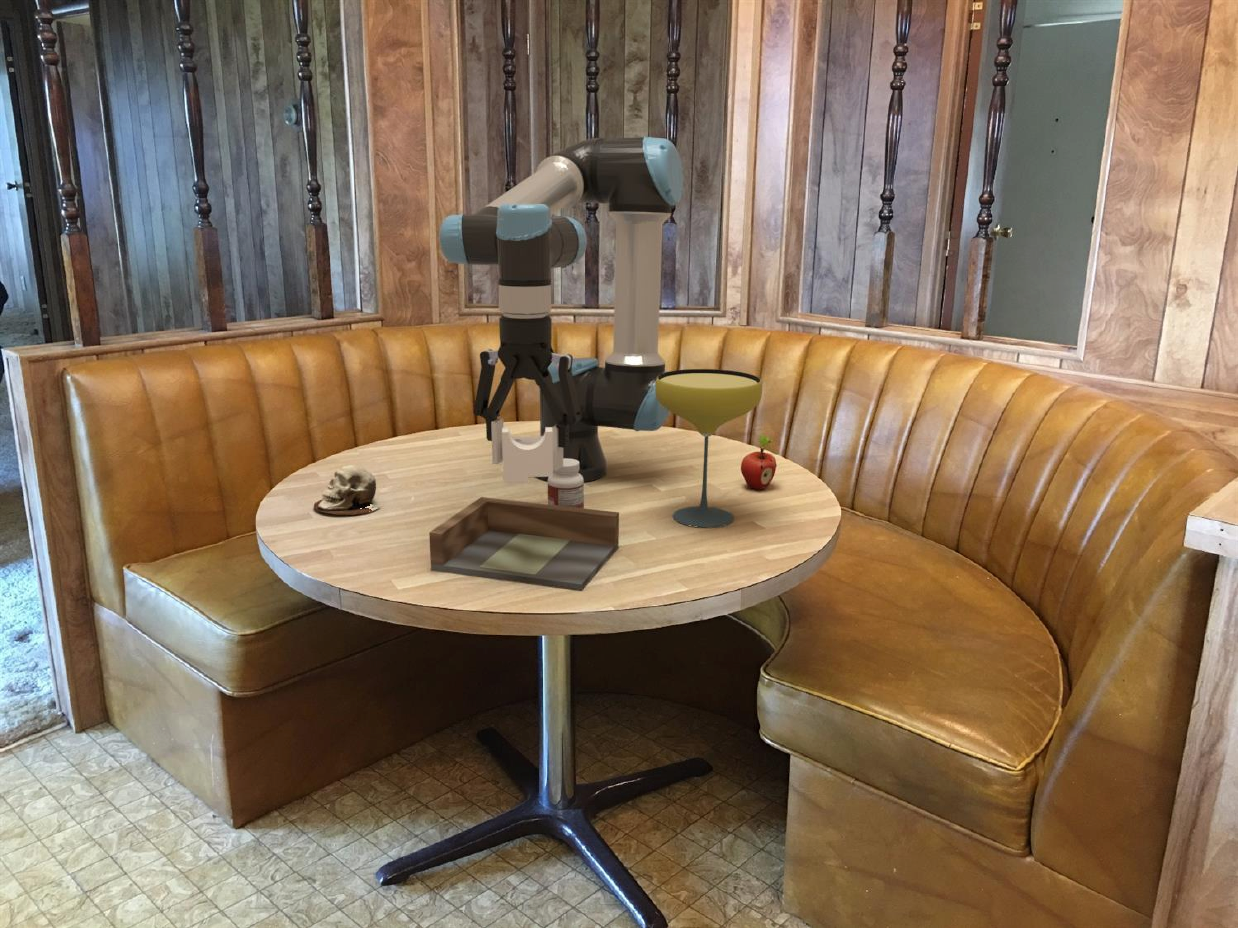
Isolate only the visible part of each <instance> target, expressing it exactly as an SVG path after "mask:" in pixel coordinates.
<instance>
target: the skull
mask: <svg viewBox="0 0 1238 928" xmlns="http://www.w3.org/2000/svg"><path fill="white" fill-rule="evenodd" d="M333 474H334V477H332V478H331V480H330V481H329V483H328V485H327V488H326V489H325V490H324V491H323V492H322V499H319V500H317V501H316V502H315V503H314V504H313V508H314V509H315V510H316V511H319V512H320V513H325V514H331V515H340V516H342V515H343V516H346V517H348V516H349V515H350V516H357V515H362V514H370V512H371V513H373V512H372V510H371V509H369V508H365V507H367V506H370V504H373V503H372V501H373V500H374V498H375V495H376V491H377V481H376V478H375V476H374V475H373V474H372V473H371V472H370V471H368V470H367V469H365V468H363V467H361V466H359V465H356V464H346V465H344V466H341V467H340V468H338V469H337V470H336V471H334V473H333ZM360 508H362V509H360ZM369 511H370V512H369Z"/></svg>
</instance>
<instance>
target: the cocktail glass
mask: <svg viewBox="0 0 1238 928" xmlns="http://www.w3.org/2000/svg"><path fill="white" fill-rule="evenodd" d="M655 394H656V397H657V400H658V401H659V403H660V404H661V405H662V406H664V407H665V408H666V409H667V410H669V411H670V412H669V413H672V414H674V415H676V416H678V417H680V418H681V419H684V420H685V421H687V422H689V423H690V424H692V425H693V426H694V427H695V429H696V430H697V431H698V433H699V434H700V435H701V436H702V437H704V443H703V444H704V448H703V452H704V453H703V469H702V471H703V473H702V490H701V497H700V503H699V505H698V506H697V505H695V506H687V507H683V508H679V509H677V510H675V511H674V512H673V513H672V518H673V520H674V521H675V520H677V521H678V522H677V521H676V522H677V523H679V522H680V523H679V524H681V523H682V524H681V525H683V524H684V526H687V525H691V526H697V527H696V528H698V527H716V528H721V527H720V526H722V527H725V526H724V525H726V526H728V525H730V524H731V522H732V521H734V520H735V516H734V514H733V513H731V512H730V511H728V510H726V509H723V508H719V507H714V506H709V505H708V497H707V496H708V492H707V490H708V489H707V488H708V487H707V486H708V484H707V483H708V457H709V456H708V453H709V437H712V436H713V435H714V434H715V433H716V431H717V430H718V429H719V428H720V427H721V426H722V425H725V424H726V423H728V422H730V421H732V420H735V419H737V418H740V417H742V416H744V415H746V414H748V413H750V412H751V411H752V410H754V409H755V408H756V407H757V406H758V405H759V404H760V403H761V399H762V396H763V382H762V380H761V378H760V377H758V376H757V375H753V374H751V373H747V372H743V371H736V370H727V369H713V368H691V369H689V368H688V369H677V370H670V371H668V372H665V373H662V374H660V375H658V377H657V379H656V384H655ZM732 523H733V522H732ZM691 526H690V527H691Z"/></svg>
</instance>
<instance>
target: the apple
mask: <svg viewBox="0 0 1238 928" xmlns="http://www.w3.org/2000/svg"><path fill="white" fill-rule="evenodd" d="M758 440H759V443H760V446H761V447H760V451H753V452H750V453H748V454H747V455H745V456H744V457H743V459H742V461H741V462H740V463H741V464H740V472H741V474H742V478H744V482H745V483H746V486H747V487H748V488H750V489H755V490H763V489H765V488H767V487H769V485H770V483H771V482H772V481H773V479H774V478H775V477H774V476H775V475H776V468H777V465H778V464H777V460H776V458H775V456H774V455H773V454H771V453H768V452H765V446H767V445H769V444H770V443H772V440H771V439H770V438H769V437H767V436H764V435H762V434H760V436H759V439H758Z"/></svg>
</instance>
